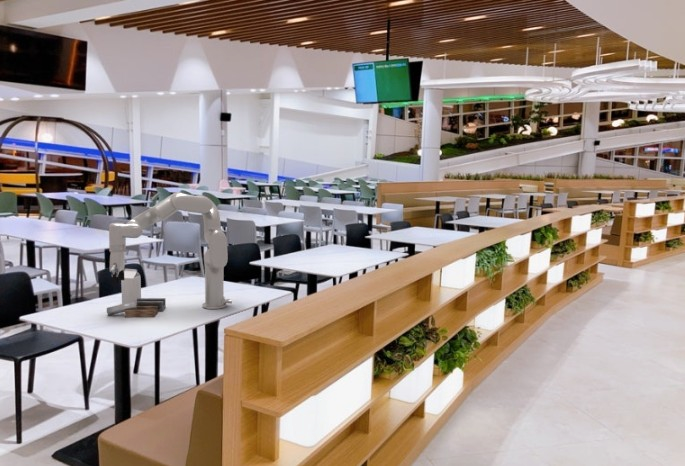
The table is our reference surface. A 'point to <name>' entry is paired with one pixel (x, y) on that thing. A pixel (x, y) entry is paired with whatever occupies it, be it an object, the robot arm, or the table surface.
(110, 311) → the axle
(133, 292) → the milk carton
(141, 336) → the table surface
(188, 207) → the robot arm
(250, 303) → the table surface
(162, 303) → the v block
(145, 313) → the brown piece
